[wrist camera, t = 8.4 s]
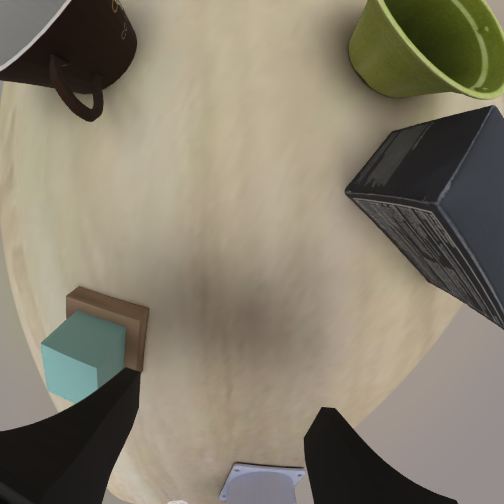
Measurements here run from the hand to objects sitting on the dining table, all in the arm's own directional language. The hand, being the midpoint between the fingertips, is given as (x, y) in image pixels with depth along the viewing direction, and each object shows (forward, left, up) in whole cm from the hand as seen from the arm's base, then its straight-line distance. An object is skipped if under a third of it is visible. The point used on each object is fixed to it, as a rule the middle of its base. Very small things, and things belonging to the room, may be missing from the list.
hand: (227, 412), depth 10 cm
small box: (+10, -11, -11) cm, 18 cm away
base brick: (-5, +9, -10) cm, 15 cm away
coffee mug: (+14, +14, -11) cm, 22 cm away
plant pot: (+20, -6, -11) cm, 23 cm away
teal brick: (-5, +9, -8) cm, 13 cm away
